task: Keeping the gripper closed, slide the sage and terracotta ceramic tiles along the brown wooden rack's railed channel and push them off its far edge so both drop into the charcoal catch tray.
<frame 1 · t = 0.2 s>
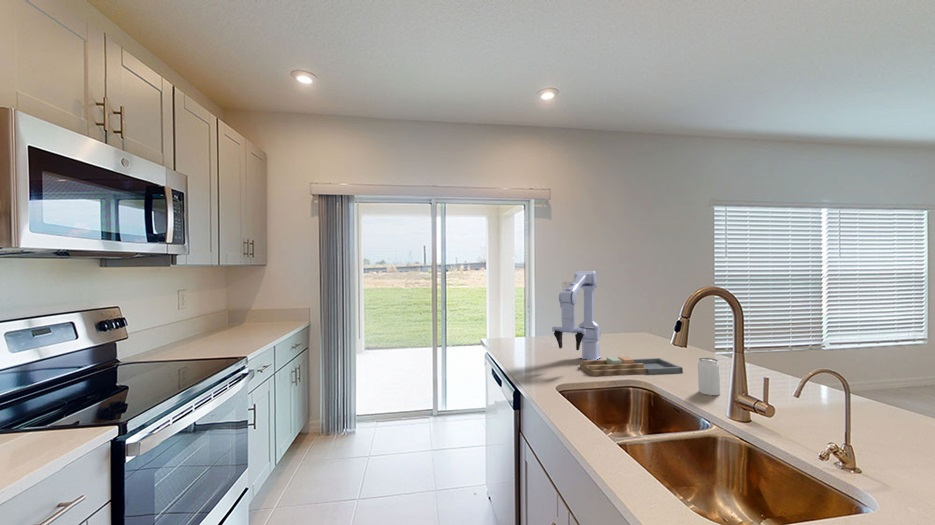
hand: (569, 348, 161), 10 cm above the countertop, fingers open, 7 cm apart
brown wooden rack: (612, 370, 162), on the countertop
sage tile: (614, 365, 162), point 2 cm above the countertop, touching brown wooden rack
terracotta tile: (626, 365, 162), point 2 cm above the countertop, touching brown wooden rack
can: (709, 393, 131), on the countertop
catch tray: (654, 368, 163), on the countertop
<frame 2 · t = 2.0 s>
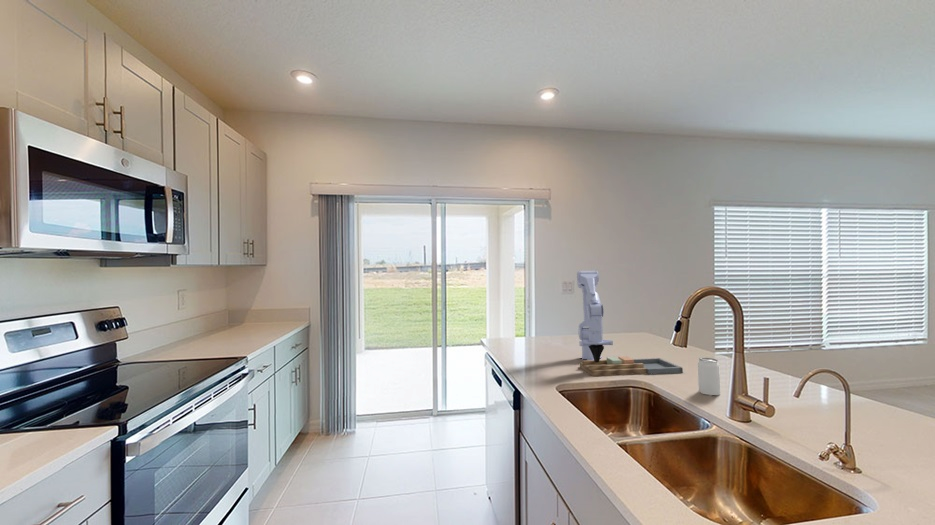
hand: (596, 361, 161), 4 cm above the countertop, fingers closed
nothing on the countertop moved.
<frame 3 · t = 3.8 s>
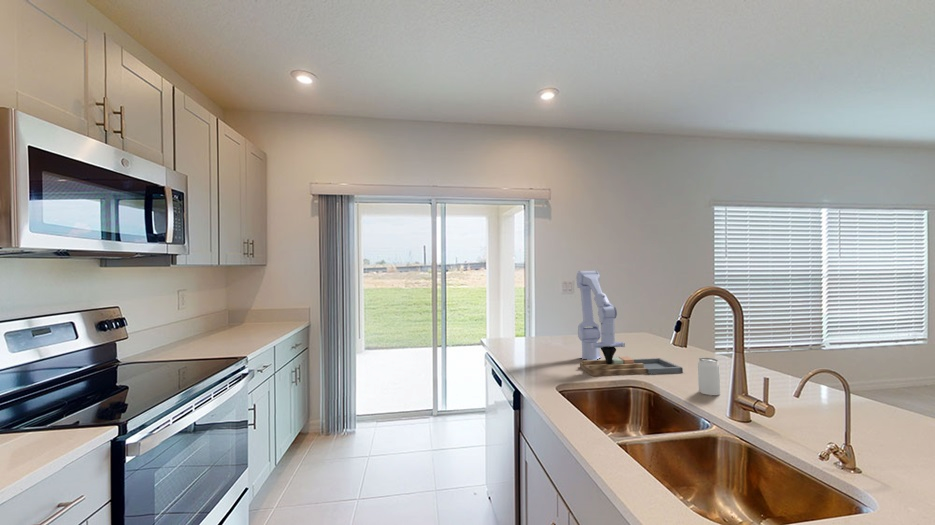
hand: (608, 363, 162), 3 cm above the countertop, fingers closed
sage tile: (615, 365, 162), point 2 cm above the countertop, touching gripper, brown wooden rack
everything else where it was.
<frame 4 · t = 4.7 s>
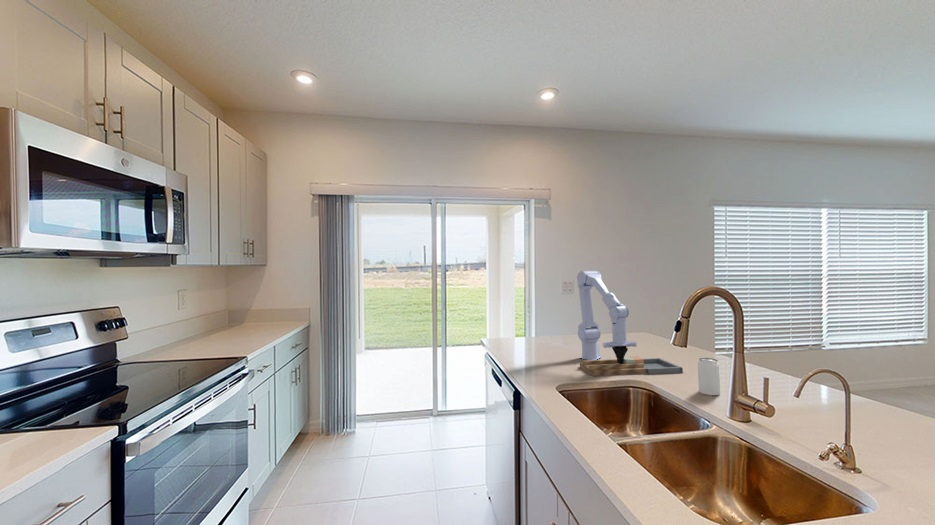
hand: (620, 363, 162), 3 cm above the countertop, fingers closed
sage tile: (627, 365, 162), point 2 cm above the countertop, touching gripper, brown wooden rack
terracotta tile: (635, 364, 162), point 2 cm above the countertop
everything else where it was.
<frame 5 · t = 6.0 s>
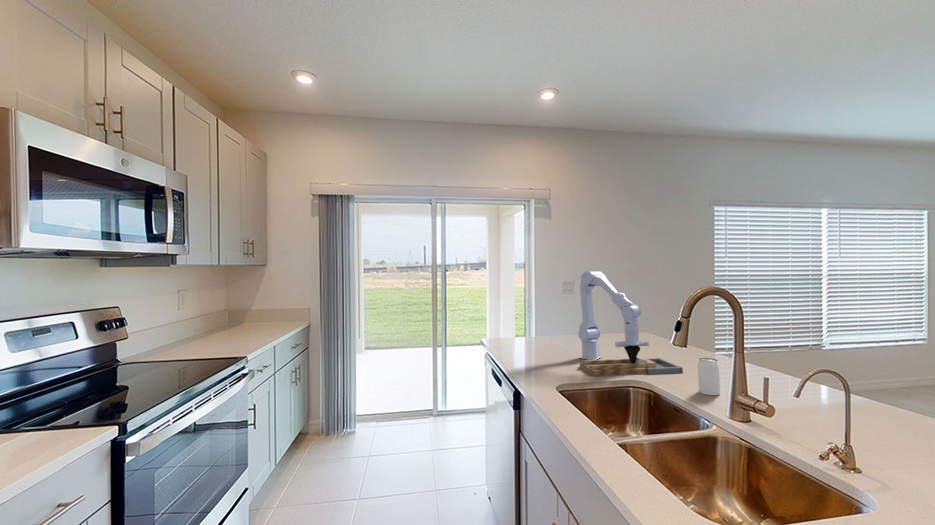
hand: (632, 362, 162), 3 cm above the countertop, fingers closed
sage tile: (638, 364, 162), point 2 cm above the countertop, tilted 16°, touching gripper, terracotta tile, brown wooden rack
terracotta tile: (647, 367, 163), resting on catch tray, touching sage tile
everything else where it was.
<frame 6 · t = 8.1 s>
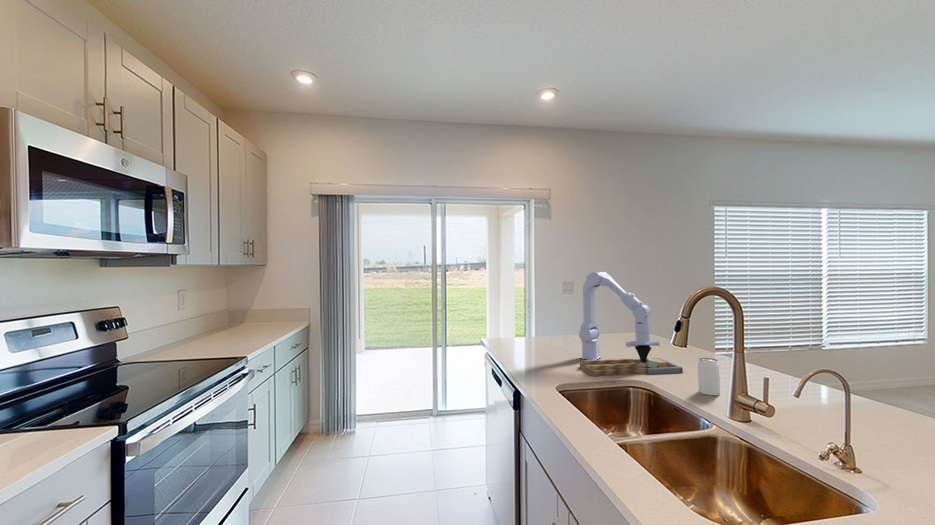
hand: (643, 362, 163), 3 cm above the countertop, fingers closed
sage tile: (648, 365, 163), point 1 cm above the countertop, tilted 15°, touching gripper, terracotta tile
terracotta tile: (658, 367, 163), resting on catch tray, touching sage tile
everything else where it was.
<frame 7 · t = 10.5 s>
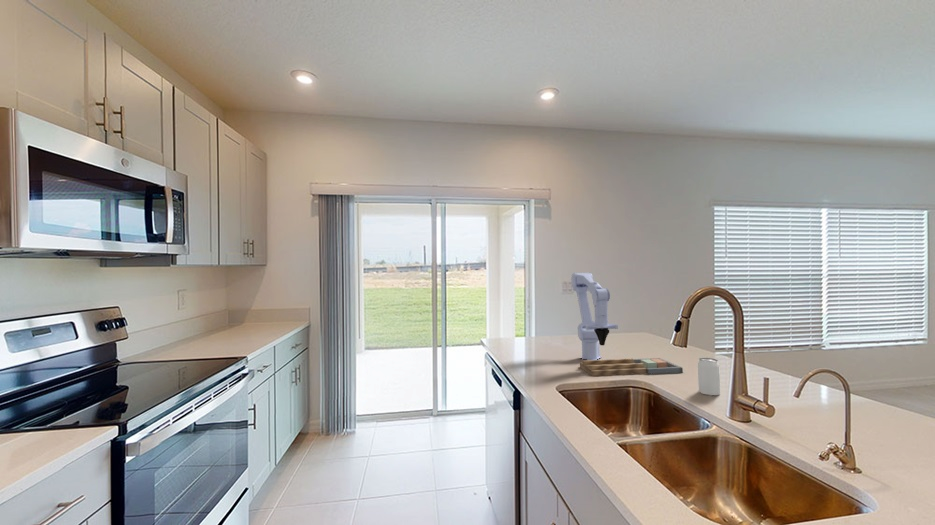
hand: (602, 345, 166), 10 cm above the countertop, fingers closed
sage tile: (648, 367, 163), resting on catch tray
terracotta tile: (658, 367, 163), resting on catch tray
everything else where it was.
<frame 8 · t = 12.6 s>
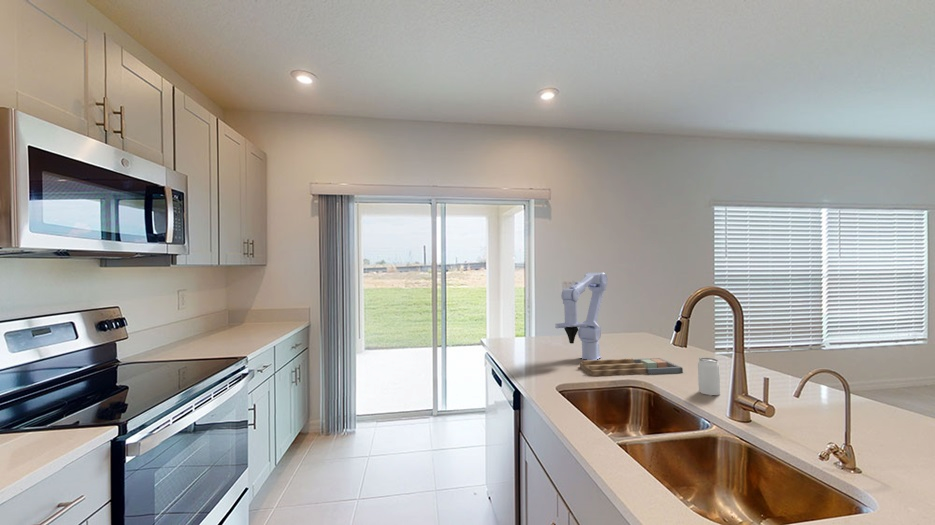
hand: (571, 343, 171), 10 cm above the countertop, fingers closed
nothing on the countertop moved.
at the end: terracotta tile 1.8 cm from the catch tray (horizontally); sage tile 2.7 cm from the catch tray (horizontally); sage tile resting on catch tray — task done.
